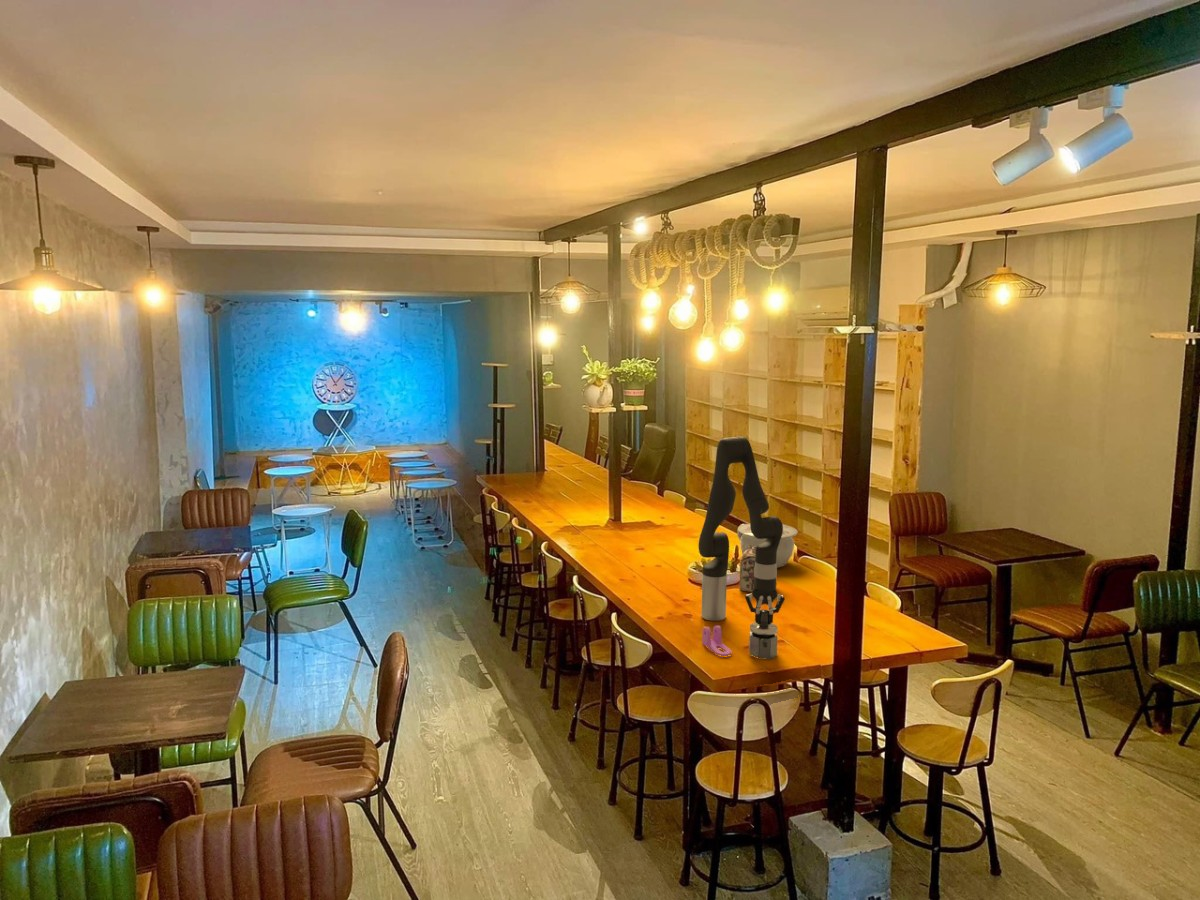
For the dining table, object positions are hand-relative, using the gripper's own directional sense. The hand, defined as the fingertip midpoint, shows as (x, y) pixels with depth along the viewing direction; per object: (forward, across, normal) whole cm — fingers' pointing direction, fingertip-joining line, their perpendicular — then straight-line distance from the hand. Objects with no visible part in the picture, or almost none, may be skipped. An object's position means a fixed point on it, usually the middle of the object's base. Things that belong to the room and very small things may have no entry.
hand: (763, 623), depth 283 cm
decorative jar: (+11, -5, -69) cm, 70 cm away
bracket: (+11, +15, -2) cm, 19 cm away
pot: (+11, 0, 0) cm, 11 cm away
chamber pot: (+11, -13, -104) cm, 105 cm away
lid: (+2, 0, 0) cm, 2 cm away
